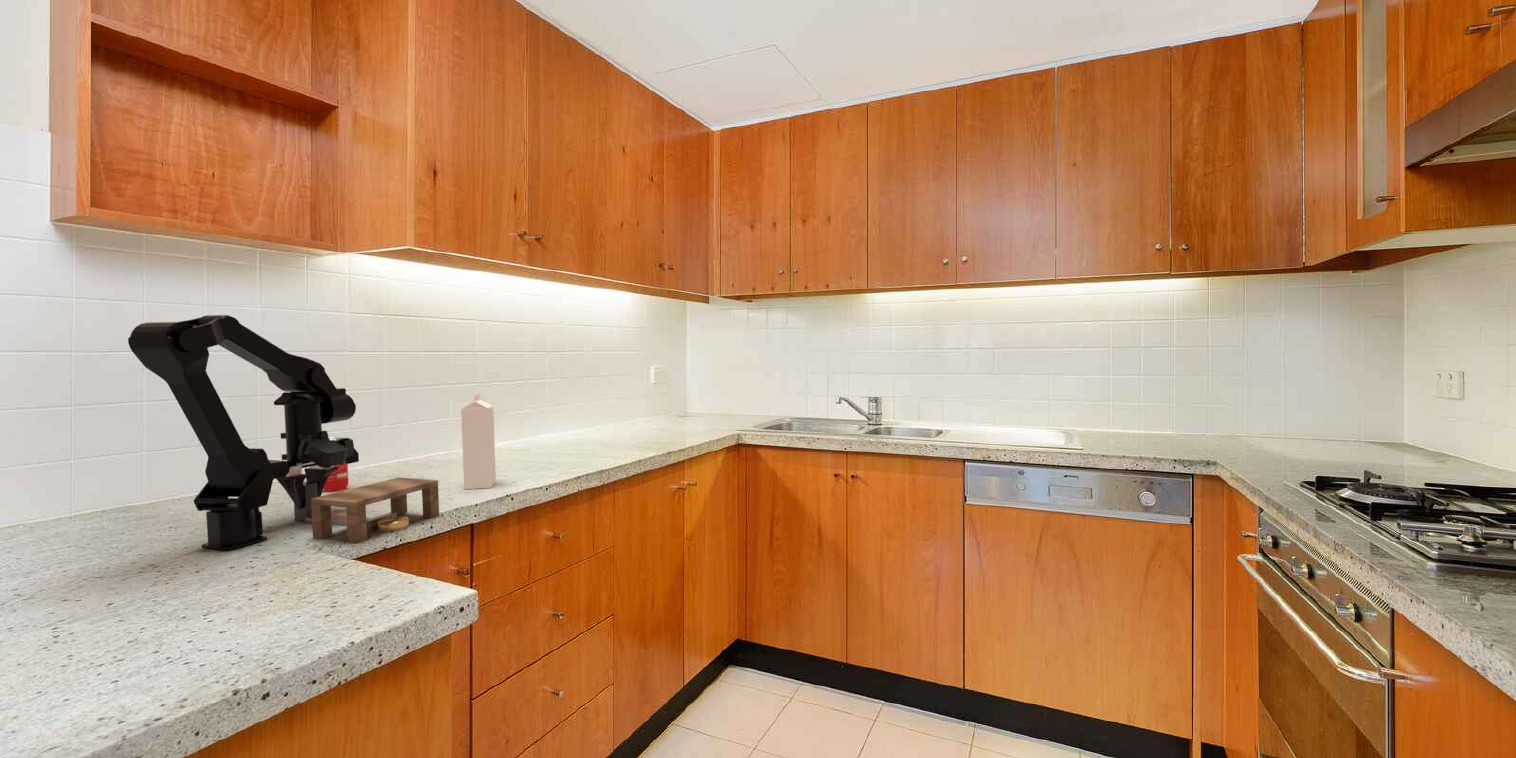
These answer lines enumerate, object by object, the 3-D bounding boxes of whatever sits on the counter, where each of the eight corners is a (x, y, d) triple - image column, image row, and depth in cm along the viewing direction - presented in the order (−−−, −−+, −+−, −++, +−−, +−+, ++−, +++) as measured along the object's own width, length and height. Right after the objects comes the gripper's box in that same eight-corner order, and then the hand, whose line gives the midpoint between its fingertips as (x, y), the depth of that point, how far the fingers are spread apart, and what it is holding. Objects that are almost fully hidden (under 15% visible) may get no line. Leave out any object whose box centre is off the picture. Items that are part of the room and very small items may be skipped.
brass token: (392, 533, 113) (392, 524, 113) (371, 530, 115) (370, 522, 114) (415, 525, 118) (415, 517, 118) (394, 523, 119) (394, 515, 119)
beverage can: (327, 493, 144) (324, 441, 144) (318, 490, 148) (316, 439, 147) (352, 488, 149) (350, 438, 148) (343, 486, 152) (341, 436, 151)
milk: (496, 483, 154) (493, 392, 152) (491, 488, 148) (488, 394, 147) (469, 484, 152) (466, 393, 151) (463, 489, 146) (460, 395, 145)
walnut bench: (356, 543, 107) (354, 502, 107) (312, 538, 110) (310, 498, 110) (439, 515, 124) (437, 480, 124) (399, 511, 127) (398, 477, 127)
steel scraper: (369, 530, 114) (368, 492, 114) (285, 522, 120) (283, 486, 120) (397, 521, 120) (395, 485, 120) (315, 514, 126) (314, 479, 125)
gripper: (286, 435, 110) (290, 522, 111) (378, 422, 128) (381, 497, 129) (240, 433, 113) (245, 518, 114) (336, 420, 131) (339, 494, 132)
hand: (307, 506), depth 122 cm, fingers closed on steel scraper, 2 cm apart
